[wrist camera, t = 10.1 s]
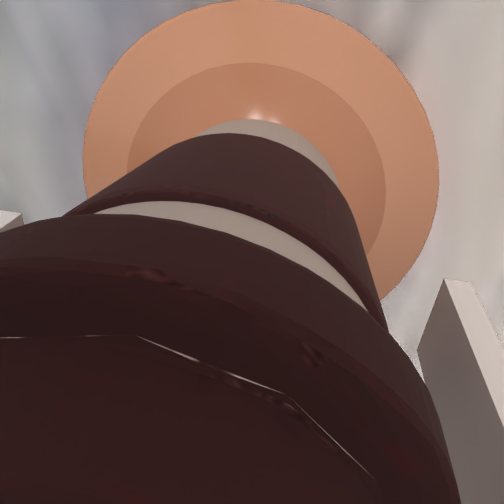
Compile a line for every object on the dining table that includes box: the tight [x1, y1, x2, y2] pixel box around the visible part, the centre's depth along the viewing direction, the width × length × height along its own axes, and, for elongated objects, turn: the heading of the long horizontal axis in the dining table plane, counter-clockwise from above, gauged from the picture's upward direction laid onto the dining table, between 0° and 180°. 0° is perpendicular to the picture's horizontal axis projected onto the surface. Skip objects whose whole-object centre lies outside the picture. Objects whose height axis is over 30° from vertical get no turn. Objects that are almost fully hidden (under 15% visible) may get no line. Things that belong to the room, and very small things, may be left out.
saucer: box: [83, 0, 439, 300], centre depth 19 cm, size 15×15×1 cm
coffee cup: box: [0, 119, 461, 504], centre depth 12 cm, size 10×10×15 cm
